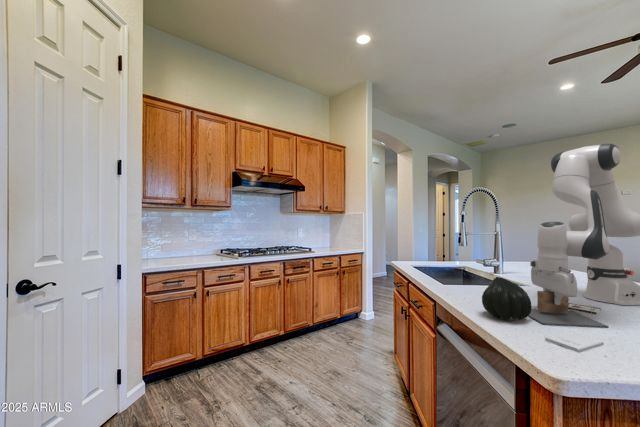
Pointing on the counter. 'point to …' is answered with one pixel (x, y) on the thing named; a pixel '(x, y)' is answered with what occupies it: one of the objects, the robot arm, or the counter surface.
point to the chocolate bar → (584, 308)
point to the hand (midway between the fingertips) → (552, 302)
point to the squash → (506, 300)
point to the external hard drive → (574, 341)
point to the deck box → (551, 302)
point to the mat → (564, 319)
